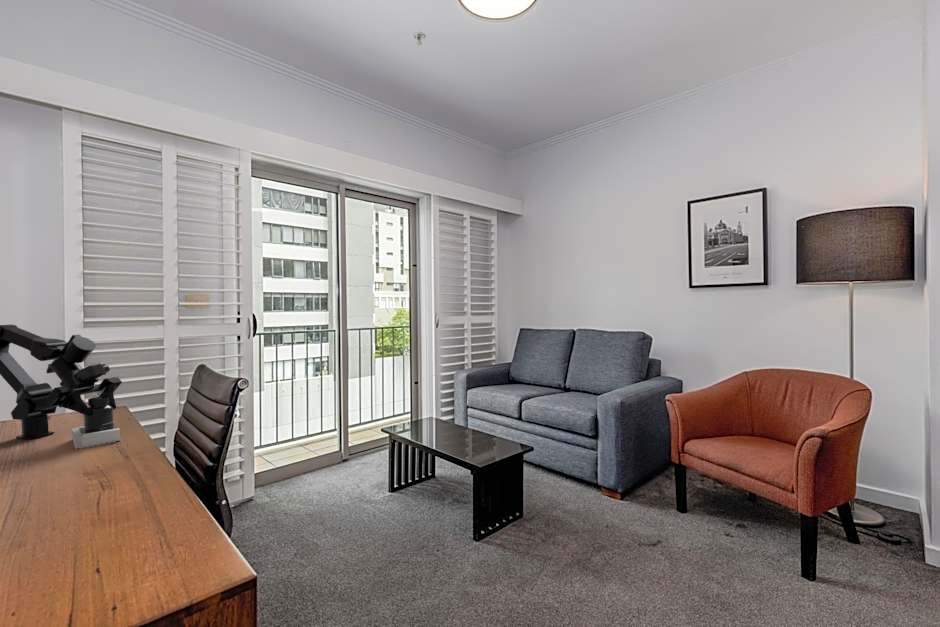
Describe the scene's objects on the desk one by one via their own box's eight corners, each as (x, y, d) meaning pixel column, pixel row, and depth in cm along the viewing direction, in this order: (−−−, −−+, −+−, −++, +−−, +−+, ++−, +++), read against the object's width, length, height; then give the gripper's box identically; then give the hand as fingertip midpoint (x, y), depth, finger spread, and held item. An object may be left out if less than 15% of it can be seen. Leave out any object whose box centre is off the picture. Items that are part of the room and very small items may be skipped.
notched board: (75, 449, 127) (75, 436, 127) (72, 440, 136) (71, 428, 136) (120, 441, 134) (119, 429, 134) (114, 432, 143) (114, 421, 143)
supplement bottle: (109, 439, 134) (108, 399, 133) (80, 442, 131) (79, 401, 131) (117, 433, 140) (116, 394, 140) (90, 435, 138) (88, 396, 137)
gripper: (52, 359, 127) (86, 400, 125) (116, 351, 145) (146, 387, 143) (30, 386, 128) (63, 427, 127) (96, 375, 147) (126, 411, 145)
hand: (103, 411), depth 135 cm, fingers open, 7 cm apart
